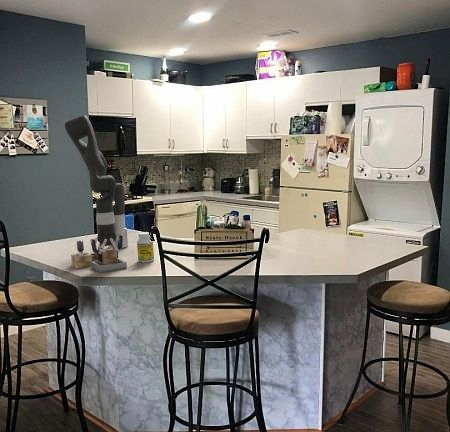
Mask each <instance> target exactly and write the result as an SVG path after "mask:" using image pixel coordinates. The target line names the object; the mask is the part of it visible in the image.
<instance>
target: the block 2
mask: <svg viewBox="0 0 450 432" xmlns="http://www.w3.org/2000/svg"><path fill="white" fill-rule="evenodd" d="M101 254H102V261H103V262H101V263H103V264H109V263H115V262H118V259H119V258H118V259H117V251H116V250H114V249H112V248H107V249H106V248H104V249H103V250H102V253H101ZM99 262H100V261H99Z"/></svg>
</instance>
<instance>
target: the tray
mask: <svg viewBox="0 0 450 432" xmlns="http://www.w3.org/2000/svg"><path fill="white" fill-rule="evenodd" d="M117 259H118V262H115V263H109V264H103V263H101V262H99V261H92V262H91V266H90V267H91V269H94V270H95V271H97V272H99V273H100V274H102V273H108V272H112V271H113V272H114V271H120V270H125V269H127V268H128V267H127V266H128V265H127V264H128V263H127V261H125V260H123V259H121V258H119V257H118V258H117Z"/></svg>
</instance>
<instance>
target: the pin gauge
mask: <svg viewBox="0 0 450 432" xmlns="http://www.w3.org/2000/svg"><path fill="white" fill-rule="evenodd" d="M76 250H77V252H78V253H79V256H82V255H83V253H84V250H85V248H84V241H83V240H77V241H76Z"/></svg>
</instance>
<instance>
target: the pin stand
mask: <svg viewBox="0 0 450 432" xmlns="http://www.w3.org/2000/svg"><path fill="white" fill-rule="evenodd" d="M90 254H91V255H92V261H98V254H97V253H95V252H92V253H90Z"/></svg>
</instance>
